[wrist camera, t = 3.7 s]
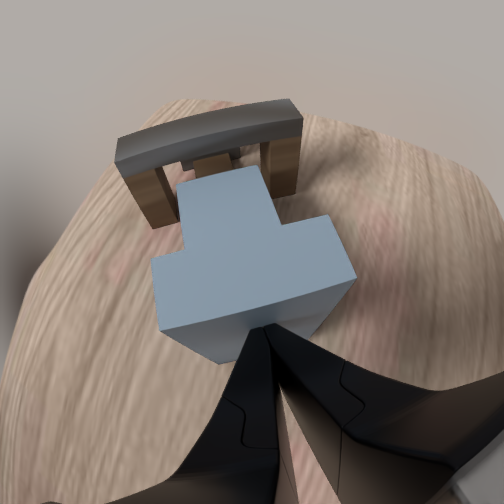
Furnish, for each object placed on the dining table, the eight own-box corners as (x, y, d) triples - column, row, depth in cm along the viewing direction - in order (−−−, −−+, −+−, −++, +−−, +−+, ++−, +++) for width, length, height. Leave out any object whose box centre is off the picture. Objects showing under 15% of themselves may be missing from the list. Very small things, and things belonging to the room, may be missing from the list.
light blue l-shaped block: (306, 340, 14) (357, 278, 7) (218, 364, 14) (159, 330, 6) (258, 200, 19) (253, 85, 11) (189, 217, 19) (148, 108, 11)
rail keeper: (356, 345, 15) (412, 314, 9) (177, 394, 14) (119, 394, 8) (270, 142, 23) (269, 74, 17) (150, 171, 22) (123, 108, 16)
